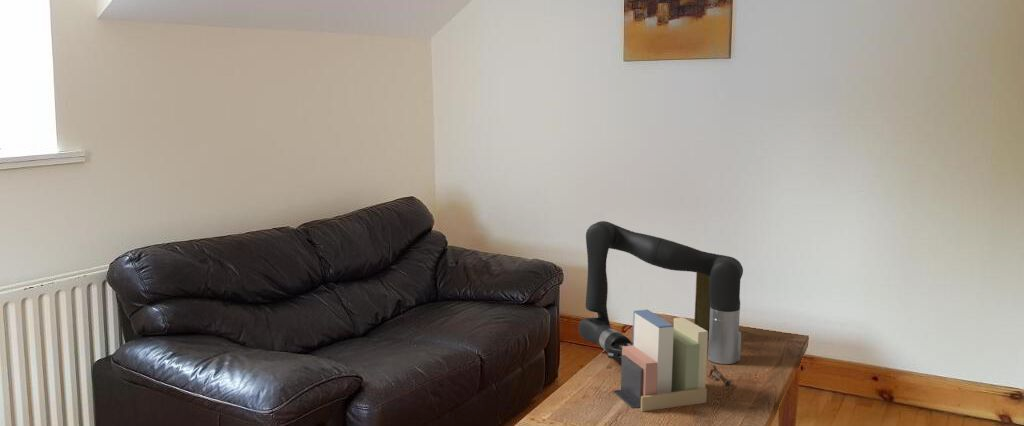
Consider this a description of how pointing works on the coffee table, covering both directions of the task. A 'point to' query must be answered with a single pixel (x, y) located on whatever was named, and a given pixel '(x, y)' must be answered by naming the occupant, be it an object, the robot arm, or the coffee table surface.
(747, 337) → the coffee table surface
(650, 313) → the blue book
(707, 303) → the book
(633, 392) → the bookend
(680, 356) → the book rack
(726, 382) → the brown irregular piece
